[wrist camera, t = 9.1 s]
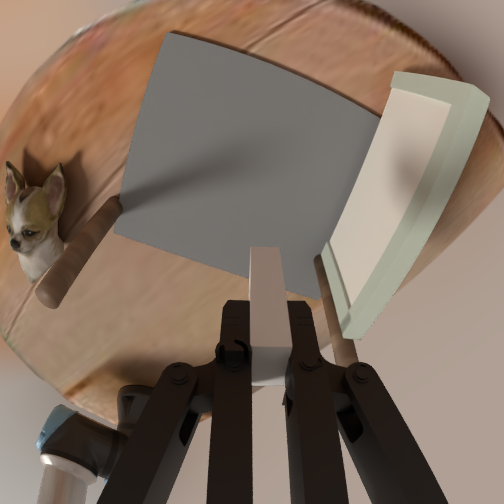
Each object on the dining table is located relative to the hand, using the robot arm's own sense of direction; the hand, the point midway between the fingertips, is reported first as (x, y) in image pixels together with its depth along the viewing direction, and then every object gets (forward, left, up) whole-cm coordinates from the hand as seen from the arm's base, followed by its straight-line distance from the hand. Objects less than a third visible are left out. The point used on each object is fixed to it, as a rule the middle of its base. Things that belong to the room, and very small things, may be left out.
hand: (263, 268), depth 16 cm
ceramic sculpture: (-14, +25, -17) cm, 33 cm away
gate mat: (-2, 0, -17) cm, 17 cm away
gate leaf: (+5, -10, -15) cm, 19 cm away
